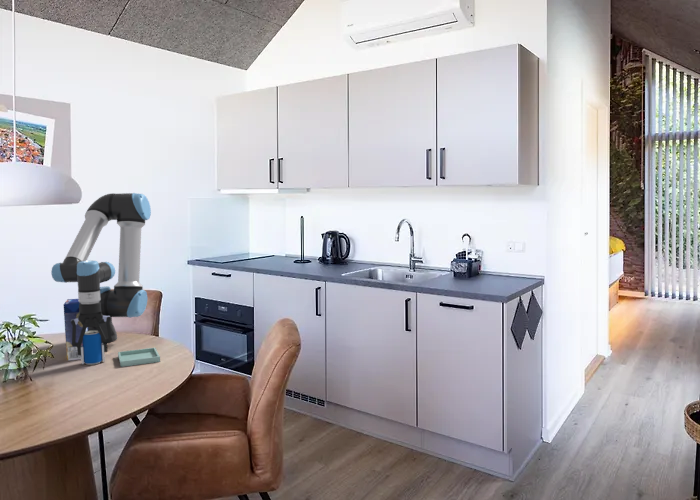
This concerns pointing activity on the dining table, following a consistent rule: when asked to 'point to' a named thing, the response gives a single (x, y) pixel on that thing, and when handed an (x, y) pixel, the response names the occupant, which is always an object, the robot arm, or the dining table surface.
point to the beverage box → (71, 313)
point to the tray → (138, 357)
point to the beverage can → (92, 347)
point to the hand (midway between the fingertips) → (93, 361)
